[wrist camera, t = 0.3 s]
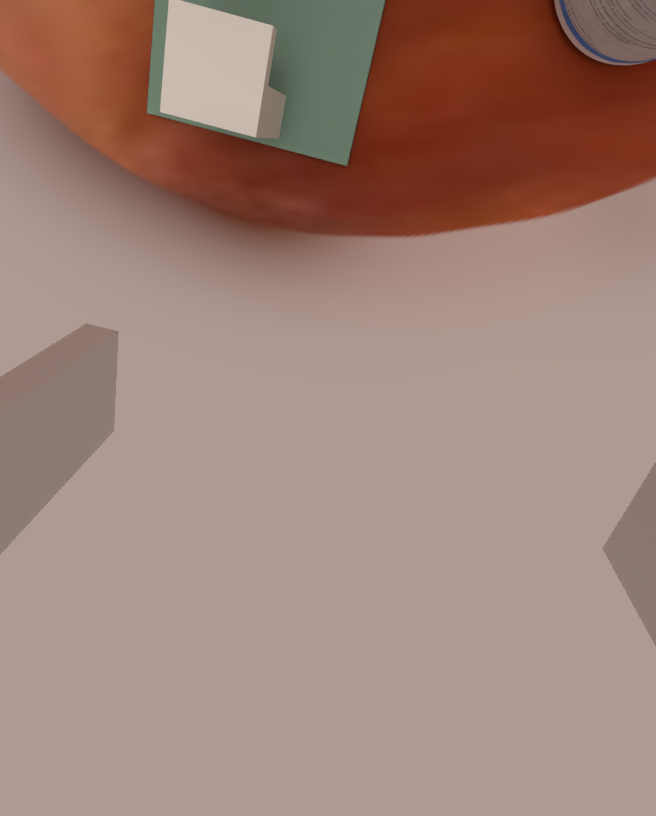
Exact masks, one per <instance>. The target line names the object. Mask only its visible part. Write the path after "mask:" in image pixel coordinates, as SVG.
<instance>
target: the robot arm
mask: <svg viewBox="0 0 656 816" xmlns="http://www.w3.org/2000/svg"><path fill="white" fill-rule="evenodd" d="M117 352H118V331H114V330H110V329H106V328H102V327H98V326H94V325H90V324H85V325H83V326H82V327H80V328H78V329H77V330H75V331H74V332H72V333H71V334H69V335H67V336H66V337H64V338H62V339H61V340H59V341H58V342H56V343H55V344H53V345H51V346H49V347H48V348H46V349H45V350H43V351H41V352H40V353H38V354H37V355H35V356H33V357H32V358H30V359H28V360H27V361H25V362H24V363H22V364H20V365H19V366H17V367H16V368H14V369H13V370H11V371H9V372H8V373H6V374H4V375H3V376H1V377H0V554H1V553H2V552H3V551H4V550H5V548H7V546H8V545H9V544H10V543H11V542H12V541H13V540H14V539H15V538H16V537H17V535H19V533H20V532H21V531H22V530H23V529H24V528H25V526H27V525H28V524H29V523H30V521H31V520H32V519H33V518H34V517H35V516H36V515H37V514H38V513H39V512H40V511H41V509H42V508H43V507H44V506H45V505H46V504H47V503H48V502H49V501H50V500H51V499H52V498H53V496H54V495H55V494H56V493H57V492H58V491H59V490H60V489H61V488H62V487H63V486H64V485H65V483H66V482H67V481H68V480H69V479H70V478H71V477H72V476H73V475H74V474H75V473H76V472H77V470H78V469H79V468H80V467H81V466H82V465H83V464H84V463H85V462H86V461H87V460H88V458H89V457H90V456H91V455H92V454H93V453H94V452H95V451H96V450H97V449H98V448H99V446H100V445H101V444H102V443H103V442H104V441H105V440H106V439H107V438H108V437H109V436H110V435H111V433H112V432H113V431H114V418H115V397H116V375H117V374H116V373H117ZM603 550H604V552H605V554H606V556H607V558H608V560H609V561H610V563H611V565H612V567H613V569H614V570H615V572H616V574H617V576H618V578H619V580H620V582H621V583H622V585H623V587H624V589H625V590H626V593H627V594H628V596H629V598H630V600H631V602H632V603H633V605H634V607H635V609H636V611H637V613H638V615H639V616H640V618H641V620H642V622H643V624H644V626H645V627H646V629H647V631H648V633H649V635H650V637H651V638H652V640H653V642H654V644H655V646H656V463H655V464H654V466H653V467H652V469H651V471H650V472H649V474H648V476H647V477H646V479H645V480H644V482H643V483H642V485H641V487H640V488H639V490H638V492H637V493H636V495H635V496H634V498H633V500H632V501H631V503H630V505H629V506H628V508H627V509H626V511H625V513H624V514H623V516H622V518H621V519H620V521H619V523H618V524H617V526H616V527H615V529H614V531H613V532H612V534H611V535H610V537H609V539H608V541H607V542H606V544H605V545H604V547H603Z"/></svg>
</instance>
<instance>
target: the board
mask: <svg viewBox="0 0 656 816" xmlns="http://www.w3.org/2000/svg"><path fill="white" fill-rule="evenodd" d="M181 1H185V2H188V3H192V4H196V5H199V6H203V7H207V8H210V9H214V10H218V11H221V12H225V13H229V14H232V15H236V16H240V17H243V18H247V19H251V20H254V21H258V22H262V23H265V24H269V25H273V26H274V27H275V28H276V29H277V33H276V39H275V46H274V52H273V58H272V64H271V71H270V77H269V83H268V86H269V87H271V88H273V89H275V90H276V91H278V92H280V93H282V94H284V95H286V102H285V108H284V113H283V119H282V125H281V131H280V136H279V139H270V138H256V137H252V136H248V135H244V134H241V133H237V132H233V131H229V130H226V129H222V128H218V127H214V126H211V125H207V124H203V123H199V122H196V121H192V120H188V119H184V118H181V117H177V116H173V115H169V114H166V113H162V112H160V103H161V91H162V78H163V66H164V53H165V41H166V29H167V16H168V4H169V0H155V6H154V20H153V34H152V48H151V62H150V76H149V91H148V105H147V113H149V114H153V115H157V116H161V117H164V118H168V119H172V120H176V121H179V122H183V123H187V124H191V125H194V126H198V127H202V128H206V129H209V130H213V131H217V132H221V133H224V134H228V135H232V136H236V137H239V138H243V139H247V140H251V141H254V142H258V143H262V144H266V145H269V146H273V147H277V148H281V149H284V150H288V151H292V152H296V153H299V154H303V155H307V156H311V157H315V158H318V159H322V160H326V161H330V162H333V163H337V164H341V165H345V166H348V162H349V157H350V153H351V149H352V144H353V140H354V136H355V131H356V127H357V123H358V118H359V114H360V110H361V106H362V101H363V97H364V93H365V88H366V84H367V80H368V75H369V71H370V67H371V62H372V58H373V54H374V50H375V45H376V41H377V37H378V32H379V28H380V24H381V19H382V15H383V11H384V6H385V2H386V0H181Z"/></svg>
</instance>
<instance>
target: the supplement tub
mask: <svg viewBox="0 0 656 816" xmlns="http://www.w3.org/2000/svg"><path fill="white" fill-rule="evenodd" d="M554 3H555V8H556V12H557V16H558V19H559V21H560V24H561V26H562V28H563V30H564V32H565V33H566V35H567V36H568V38H569V39H570V40H571V42H572V43H573V44H574V45H575V46H576V47H577V48H578V49H579V50H580V51H581V52H583V53H584V54H585V55H587V56H589V57H591V58H592V59H595V60H597V61H599V62H603V63H607V64H612V65H635V64H641V63H645V62H648V61H651V60H655V59H656V0H554Z"/></svg>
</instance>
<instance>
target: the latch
mask: <svg viewBox="0 0 656 816" xmlns="http://www.w3.org/2000/svg"><path fill="white" fill-rule="evenodd" d="M276 33H277V29H276V28H275V27H274V26H273V25H269V24H265V23H262V22H258V21H254V20H251V19H247V18H243V17H240V16H236V15H232V14H229V13H225V12H221V11H218V10H214V9H210V8H207V7H203V6H199V5H196V4H192V3H188V2H185V1H181V0H169V4H168V16H167V29H166V41H165V53H164V66H163V78H162V91H161V103H160V112H162V113H166V114H169V115H173V116H177V117H181V118H184V119H188V120H192V121H196V122H199V123H203V124H207V125H211V126H214V127H218V128H222V129H226V130H229V131H233V132H237V133H241V134H244V135H248V136H252V137H256V138H270V139H279V136H280V131H281V125H282V119H283V113H284V108H285V102H286V95H284V94H282V93H280V92H278V91H276V90H275V89H273V88H271V87H269V86H268V83H269V77H270V71H271V64H272V58H273V52H274V46H275V39H276Z"/></svg>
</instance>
